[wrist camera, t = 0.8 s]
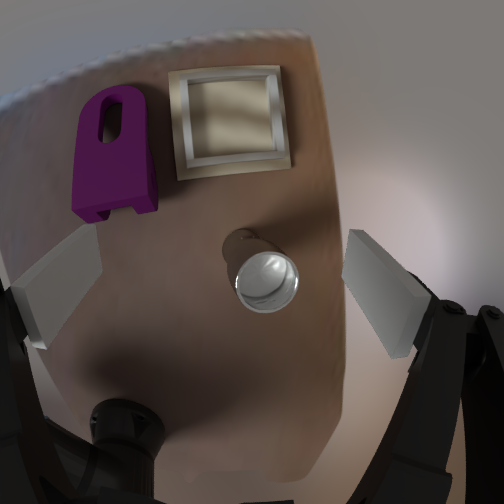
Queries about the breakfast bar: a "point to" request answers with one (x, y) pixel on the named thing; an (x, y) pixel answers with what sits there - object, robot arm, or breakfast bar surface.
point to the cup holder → (228, 121)
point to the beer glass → (259, 272)
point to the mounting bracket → (113, 158)
